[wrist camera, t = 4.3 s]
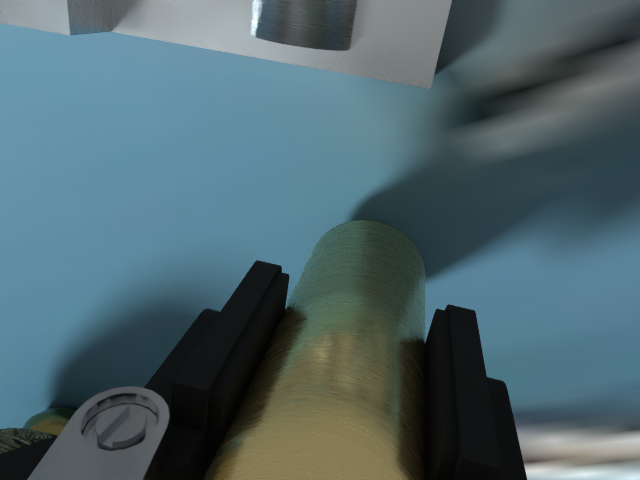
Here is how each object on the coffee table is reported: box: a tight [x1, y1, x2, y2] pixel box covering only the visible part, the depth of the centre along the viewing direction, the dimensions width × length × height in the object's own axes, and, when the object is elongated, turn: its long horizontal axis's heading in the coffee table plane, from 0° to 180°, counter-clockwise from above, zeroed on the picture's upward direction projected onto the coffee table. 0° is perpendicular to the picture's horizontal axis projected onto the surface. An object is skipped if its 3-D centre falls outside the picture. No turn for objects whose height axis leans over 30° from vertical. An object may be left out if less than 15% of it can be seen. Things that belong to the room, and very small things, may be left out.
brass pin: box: [203, 220, 425, 480], centre depth 9 cm, size 4×4×10 cm
